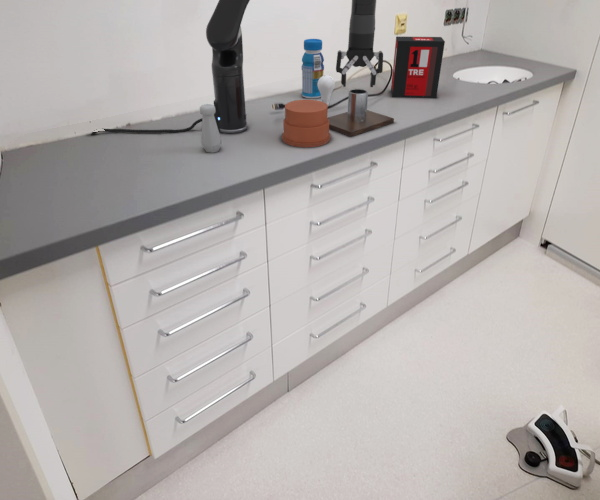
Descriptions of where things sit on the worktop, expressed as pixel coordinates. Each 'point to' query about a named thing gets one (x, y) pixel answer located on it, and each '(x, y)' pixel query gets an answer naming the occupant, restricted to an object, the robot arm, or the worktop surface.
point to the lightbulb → (326, 88)
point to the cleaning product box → (417, 67)
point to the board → (358, 123)
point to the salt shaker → (209, 129)
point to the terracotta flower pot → (306, 123)
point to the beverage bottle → (312, 68)
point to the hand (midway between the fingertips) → (357, 86)
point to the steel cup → (357, 105)
